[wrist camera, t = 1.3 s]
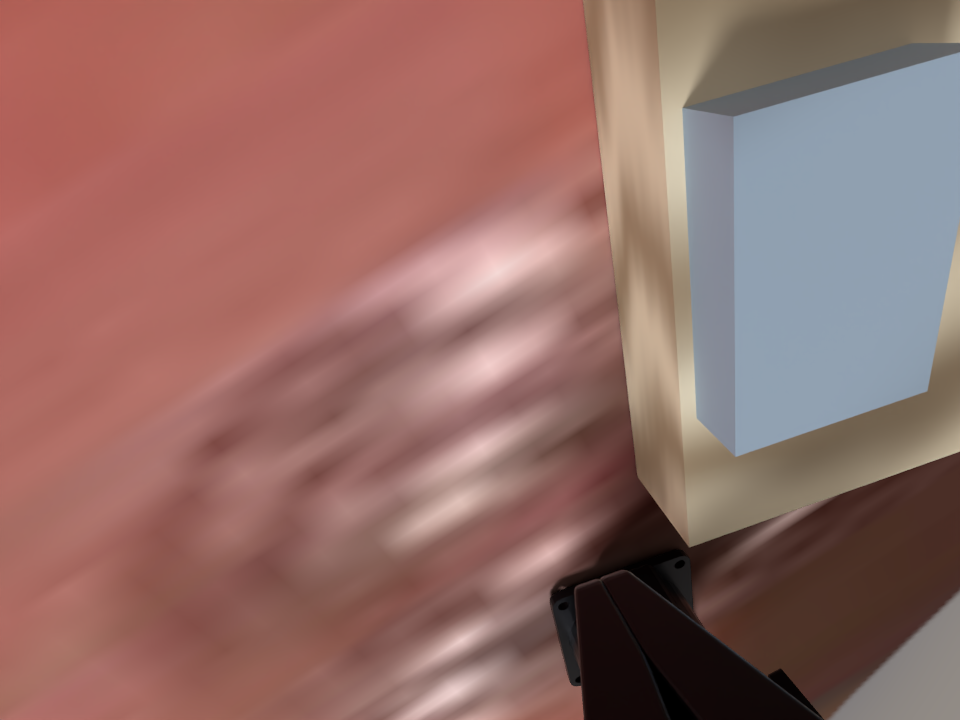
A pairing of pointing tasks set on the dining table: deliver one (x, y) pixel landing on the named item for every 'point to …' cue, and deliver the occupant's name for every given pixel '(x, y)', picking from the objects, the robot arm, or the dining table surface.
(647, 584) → the robot arm
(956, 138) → the block
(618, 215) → the beige flat block
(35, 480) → the dining table surface
